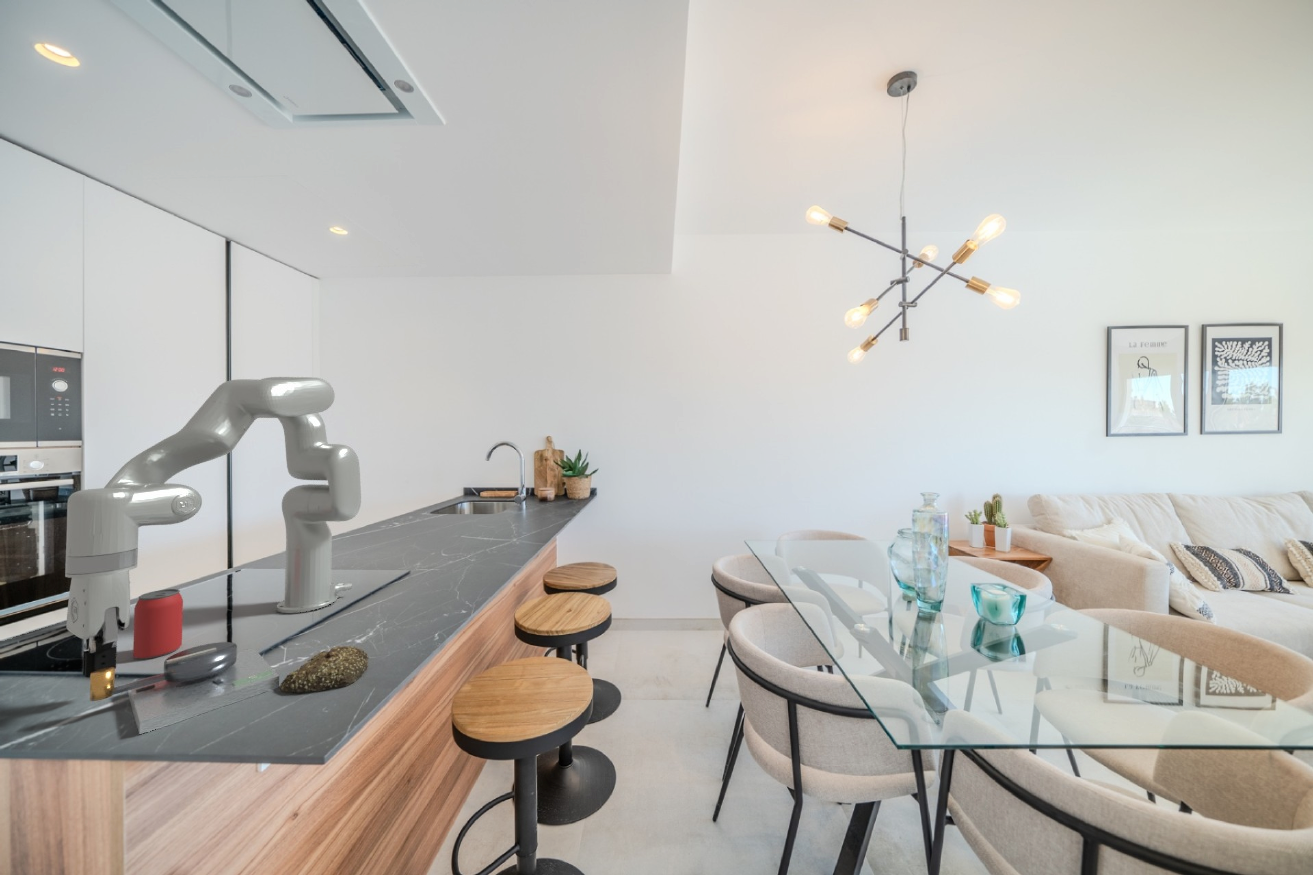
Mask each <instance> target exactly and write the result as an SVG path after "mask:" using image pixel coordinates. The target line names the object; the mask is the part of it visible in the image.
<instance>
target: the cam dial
mask: <svg viewBox="0 0 1313 875" xmlns="http://www.w3.org/2000/svg"><path fill="white" fill-rule="evenodd" d="M237 647H238V645H237V644H236V643H235V642H229V641H224V642H223V641H220V642H212V643H205V644H203V645H197V646H194V647H190V648H186V649H184V650H181V651H179V652H177V653H174V654H172V655H171V656H169V657H167V658H166V659H165V660H164V662H163V673H164V674H162V673H161V674H162V675H159V674H157V675H158V676H155V675H153V676H154V677H152V676H150V677H151V678H148V677H146V678H147V679H144V678H143V679H144V680H141V679H139V680H140V681H137V680H135V681H136V682H134V681H132V682H133V683H130V682H128V683H127V684H122V685H120V686H119V685H118V686H115V681H116V679H115V678H116V676H115V675H116V668H114V667H109V668H104V669H100V670H97V671H94V672H92V673H91V674H90V677H89V679H90V681H89V701H90V702H97V701H102V700H106V699H108V698H110V697H112V696H113V695H117V694H122V693H124V692H128V690H132V689H135V688H139V687H142V686H146V685H149V684H153V683H156V682H160V681H163V680H165V681H168V682H184V681H190V680H195V679H200V678H203V677H207V676H210V675H213V674H216V673H218V672H221V671H223V670H225V669H227V668H229V667H231V666H232V665H233V664H234V663H235V662H236V659H237V653H238V652H237V651H238V648H237Z"/></svg>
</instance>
